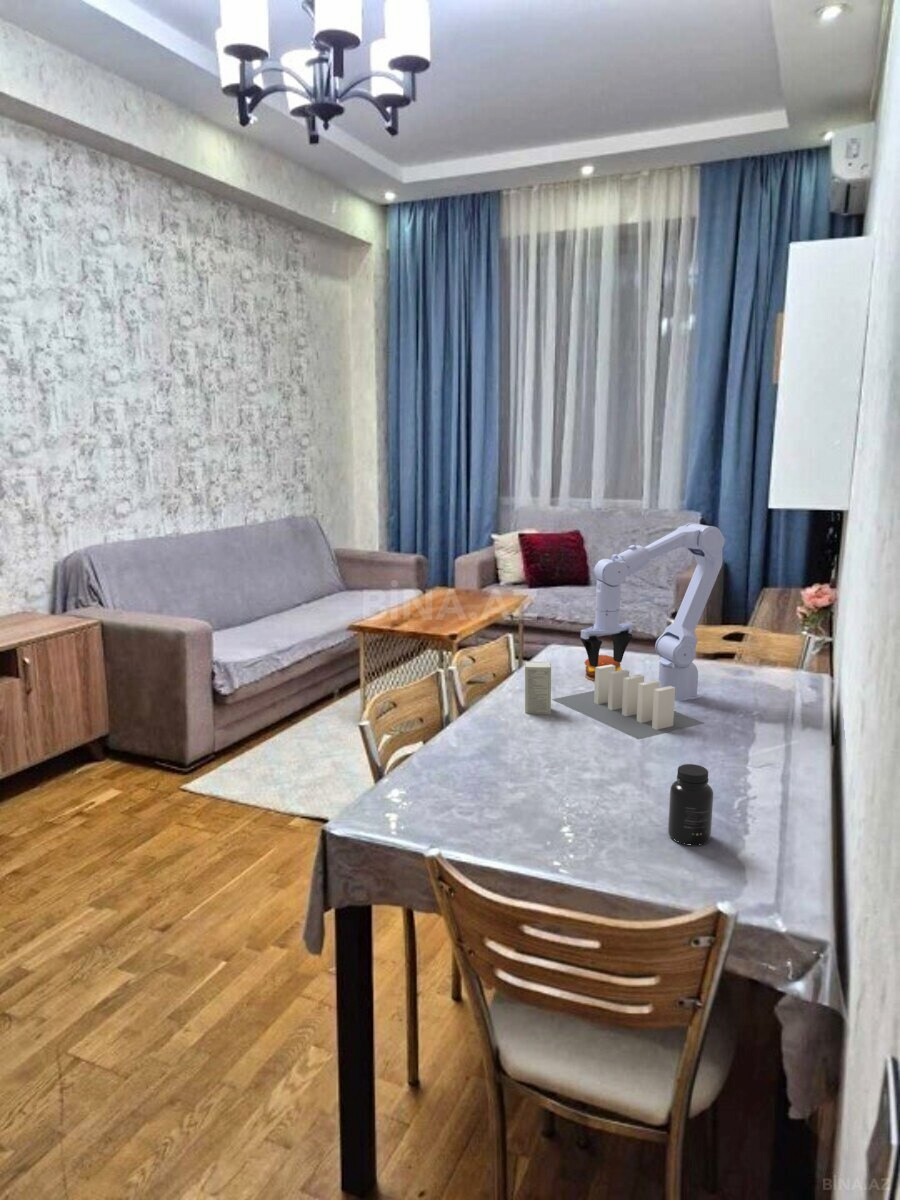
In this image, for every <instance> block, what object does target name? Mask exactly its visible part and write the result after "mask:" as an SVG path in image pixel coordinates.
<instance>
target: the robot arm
mask: <svg viewBox="0 0 900 1200" xmlns="http://www.w3.org/2000/svg"><path fill="white" fill-rule="evenodd" d="M725 543H726V539H725V537H724V535H723V533H722V532H721V530H720V528H718V527H716V526H714V525H713V526H712V525H706V524H700V523H697V522H693V521H692V522H688V523H687V524H685V525H681V526H679V527H677V529H675V530H674V531H672V532H670V533H668V534H666V535H664V536H662V537H661V538H659V539H657V540H655V541H653V542H652V543H650V544H648V545H646V546H642V545H639V544H637V545H634V544H631V545H629V546H628V549H626V550H625V551H623V552H620V553H618V554H617V553H616V554H615V553H614V554H612V555H611V557H610V559H609V558H602V559H600V560H599V561H598V562H597V563H596V564H595V566H594V568H593V569H592V571H591V572H592V576H593V578H594V579H595V580H596V587H595V588H596V590H595V593H596V594H595V617H594V620H595V621H594V624H593V626H590V627H587V628H584V629H581V630H580V641H581V643H582V645H583V646H584V648H585V652H586V655H587V659H589V664H590V666H593V667H597V665H598V657H599V655H600V654H599V653H600V651H601V650H600V649H601V646H602V645H603V644H602V643H603V641H602V640H600V639H599V638H597V637H603V636H608V635H611V639H612V646H613V648H612V650H613V655H612V657H613V658H614V661H616V662H619V663H620V664H621V663H622V662H623V658H624V654H625V652H626V649H627V647H628V645H629V643H630V641H631V640H632V639H633V634H632V632H633V623H630V622H623V623H622V622H621V623H620V613H621V586H622V584H623V583H624V582H625V579H626V578H628V577H629V576H631V575H634V574H636V573H638V572H640V571H641V570H644V569H646V568H648V567H649V566H650V564H651V561H652V560H654V559H656V558H659V557H660V556H663V555H666V554H667V553H670V552H673V551H674V550H677V549H680V548H685V549H687V550H688V551H689V552H690V553H691V554H692V556H693V558H694V560H695V563H696V567H695V569H694V572H693V575H692V576H691V579H690V582H689V584H688V586H687V589H686V592H685V594H684V596H683V598H682V602H681V603H680V606H679V608H678V611H677V614H676V616H675V618H674V619H673V620H674V621H673V623H671V624H669V625H668V626H667V627H665V629H664V631H663V632H662V634H661V635H660V636H659V637H658V638H657V639H656V641H655V646H654V647H655V653H656V654H657V655H658V657H659V659H658V660H659V665H658V682H659V688H663V687H667V686H672V687H675V702H674V703H679V702H683V701H687V700H692V701H693V700H697V699H700V696H699V695H698V687H699V685H698V684H699V683H698V682H699V670H698V668H697V666H696V664H695V663H694V661H695V659H696V654H697V653H696V648H697V645H698V643H699V640H698V636H697V634H696V628H697V626H698V624H699V622H700V619H701V617H702V614H703V612H704V610H705V607H706V604H707V602H708V601H709V598H710V595H711V592H712V590H713V588H714V586H715V583H716V581H717V578H718V575H719V574H720V570H721V569H722V567H723V548H724V546H725Z"/></svg>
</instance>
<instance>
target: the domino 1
mask: <svg viewBox="0 0 900 1200" xmlns="http://www.w3.org/2000/svg"><path fill="white" fill-rule="evenodd" d="M614 671H615V666H614V665H612V664H611V665H605V666H600V667H595V681H594V691H595V693H594V703H596V704H602V703H607V702H608V689H609V672H614Z"/></svg>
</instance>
